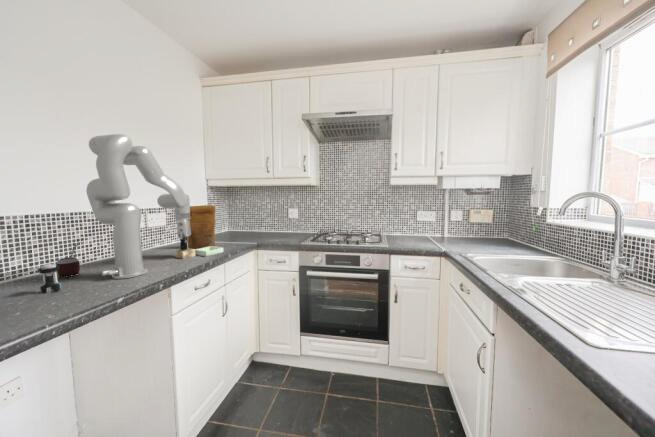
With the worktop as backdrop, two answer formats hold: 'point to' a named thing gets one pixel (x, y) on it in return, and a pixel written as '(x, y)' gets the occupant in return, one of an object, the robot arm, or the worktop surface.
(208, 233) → the pancake mix bag
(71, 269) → the manual coffee grinder
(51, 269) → the black toy figure
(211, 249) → the tray
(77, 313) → the worktop surface
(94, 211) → the robot arm
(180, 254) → the socket block
